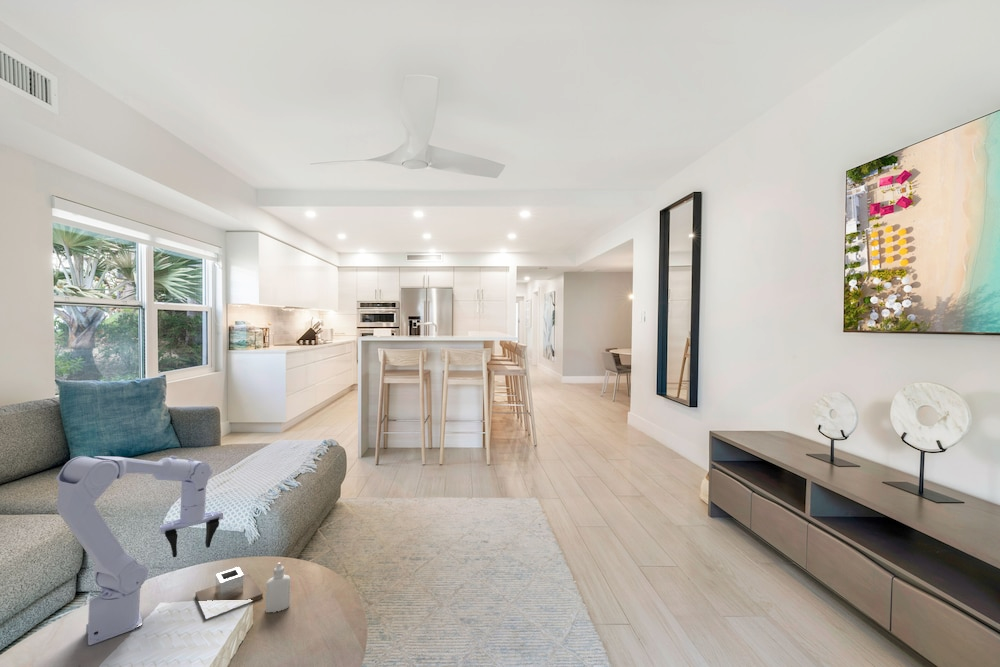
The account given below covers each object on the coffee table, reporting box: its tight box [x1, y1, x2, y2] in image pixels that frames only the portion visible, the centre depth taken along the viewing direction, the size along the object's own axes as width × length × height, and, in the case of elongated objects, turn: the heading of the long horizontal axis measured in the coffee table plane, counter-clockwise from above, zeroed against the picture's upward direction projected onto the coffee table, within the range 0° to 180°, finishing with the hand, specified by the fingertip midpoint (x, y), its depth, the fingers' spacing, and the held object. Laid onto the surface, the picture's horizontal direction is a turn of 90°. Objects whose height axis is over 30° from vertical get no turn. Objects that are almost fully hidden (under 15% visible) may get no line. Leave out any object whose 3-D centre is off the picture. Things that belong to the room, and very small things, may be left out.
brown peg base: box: [195, 573, 264, 602], centre depth 113 cm, size 13×13×5 cm
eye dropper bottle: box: [265, 562, 291, 613], centre depth 109 cm, size 4×6×12 cm
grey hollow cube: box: [215, 566, 245, 600], centre depth 114 cm, size 5×5×5 cm
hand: (191, 550), depth 117 cm, fingers open, 7 cm apart
